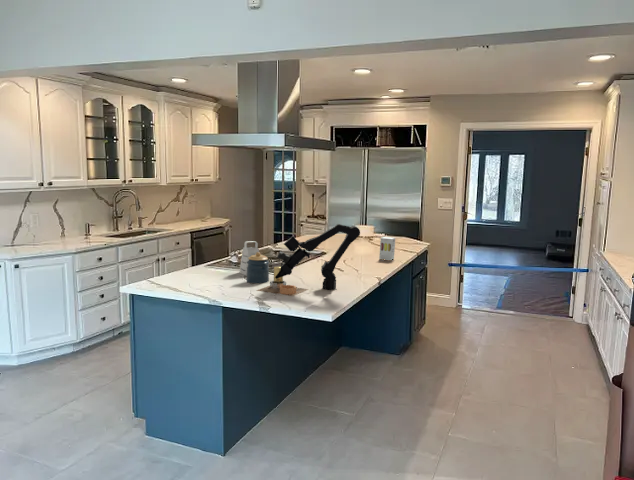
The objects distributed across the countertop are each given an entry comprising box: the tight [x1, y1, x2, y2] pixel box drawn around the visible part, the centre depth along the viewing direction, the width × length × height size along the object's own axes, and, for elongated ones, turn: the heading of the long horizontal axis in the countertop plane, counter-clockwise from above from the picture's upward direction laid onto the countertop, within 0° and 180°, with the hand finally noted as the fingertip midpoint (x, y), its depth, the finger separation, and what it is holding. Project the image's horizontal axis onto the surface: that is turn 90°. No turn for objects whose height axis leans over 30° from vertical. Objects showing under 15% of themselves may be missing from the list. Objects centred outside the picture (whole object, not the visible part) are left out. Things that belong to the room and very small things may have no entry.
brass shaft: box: [273, 265, 284, 283], centre depth 280 cm, size 5×5×11 cm
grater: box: [239, 240, 260, 277], centre depth 318 cm, size 10×10×20 cm
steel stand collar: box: [269, 280, 287, 289], centre depth 280 cm, size 8×8×3 cm
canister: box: [245, 251, 270, 284], centre depth 294 cm, size 13×13×18 cm
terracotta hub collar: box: [280, 284, 298, 295], centre depth 270 cm, size 8×8×3 cm
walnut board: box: [256, 285, 309, 297], centre depth 275 cm, size 22×18×1 cm
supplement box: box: [378, 236, 396, 261], centre depth 385 cm, size 10×9×17 cm
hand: (275, 277), depth 280 cm, fingers closed on brass shaft, 5 cm apart
